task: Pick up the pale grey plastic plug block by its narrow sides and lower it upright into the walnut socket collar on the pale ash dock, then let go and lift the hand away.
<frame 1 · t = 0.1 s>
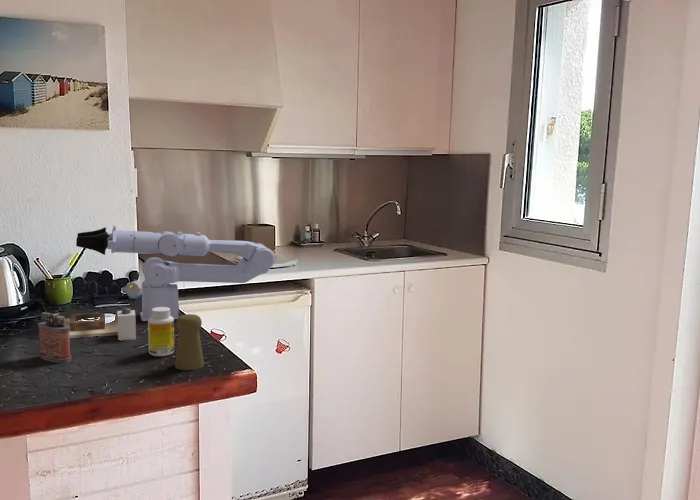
hand: (76, 239, 170), 22 cm above the worktop, tool horizontal, fingers open, 7 cm apart
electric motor: (133, 298, 200), on the worktop
supplement bottle: (161, 354, 150), on the worktop
lighter: (55, 359, 144), on the worktop
plug: (126, 337, 161), on the worktop
olive pepper mill: (189, 366, 142), on the worktop
socket dock: (88, 328, 168), on the worktop
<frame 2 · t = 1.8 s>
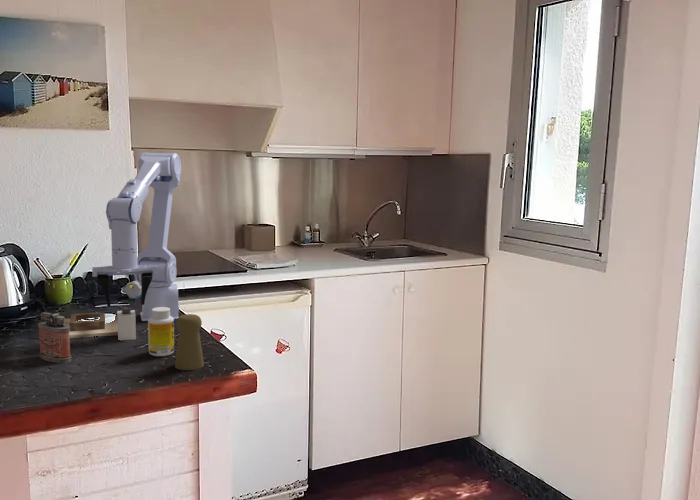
hand: (125, 304, 160), 8 cm above the worktop, tool pointing down, fingers open, 7 cm apart
nothing on the worktop moved.
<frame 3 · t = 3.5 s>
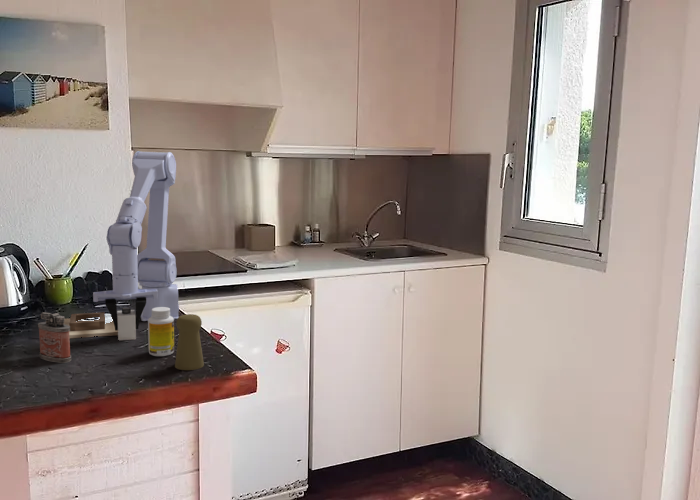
hand: (126, 328, 161), 2 cm above the worktop, tool pointing down, fingers closed on plug, 4 cm apart
plug: (126, 336, 161), on the worktop, touching gripper
everything else where it was.
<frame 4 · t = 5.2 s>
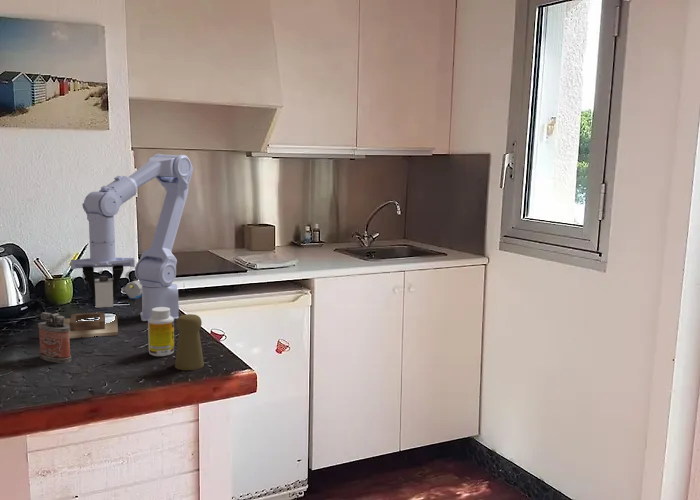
hand: (104, 296, 163), 9 cm above the worktop, tool pointing down, fingers closed on plug, 4 cm apart
plug: (104, 304, 164), point 7 cm above the worktop, touching gripper
everything else where it was.
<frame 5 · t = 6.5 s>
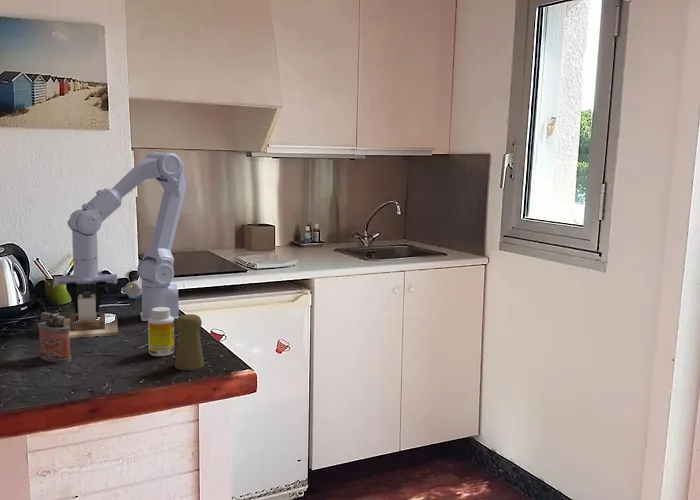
hand: (87, 312, 167), 4 cm above the worktop, tool pointing down, fingers closed on plug, 4 cm apart
plug: (87, 320, 167), point 2 cm above the worktop, touching gripper
everything else where it was.
when the fingers open (4 cm above the worktop, at t = 7.3 s): plug drops 1 cm, resting on socket dock.
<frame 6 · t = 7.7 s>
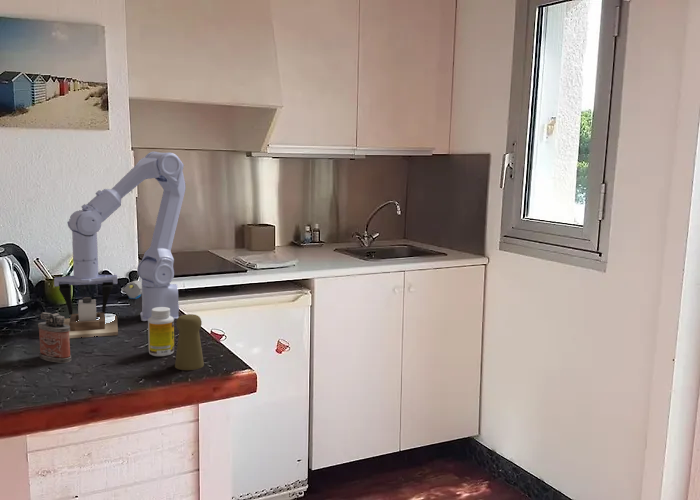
hand: (87, 312, 167), 4 cm above the worktop, tool pointing down, fingers open, 7 cm apart
plug: (88, 325, 167), point 1 cm above the worktop, touching socket dock
everything else where it was.
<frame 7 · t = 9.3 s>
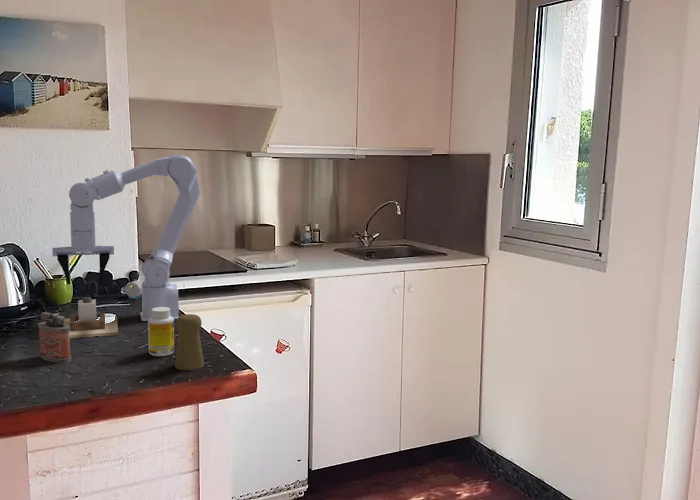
hand: (84, 282, 172), 10 cm above the worktop, tool pointing down, fingers open, 7 cm apart
nothing on the worktop moved.
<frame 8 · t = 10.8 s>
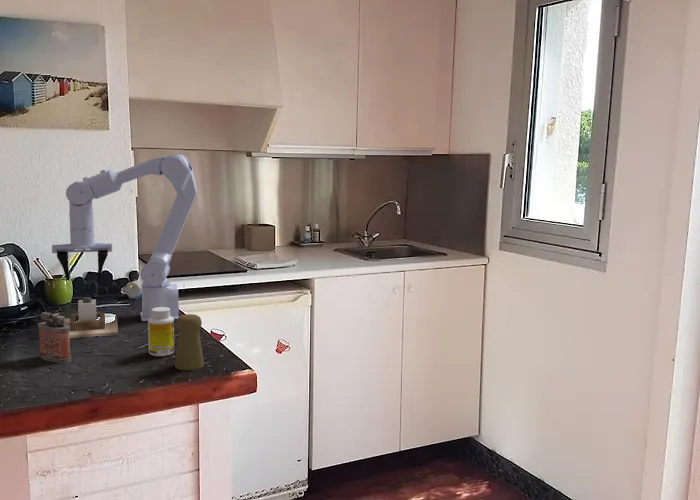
hand: (83, 279, 176), 10 cm above the worktop, tool pointing down, fingers open, 7 cm apart
nothing on the worktop moved.
at the end: plug 0.0 cm off-centre on the socket dock, point 0.8 cm above the socket dock's base; plug tilted 0°; the gripper is holding nothing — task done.
